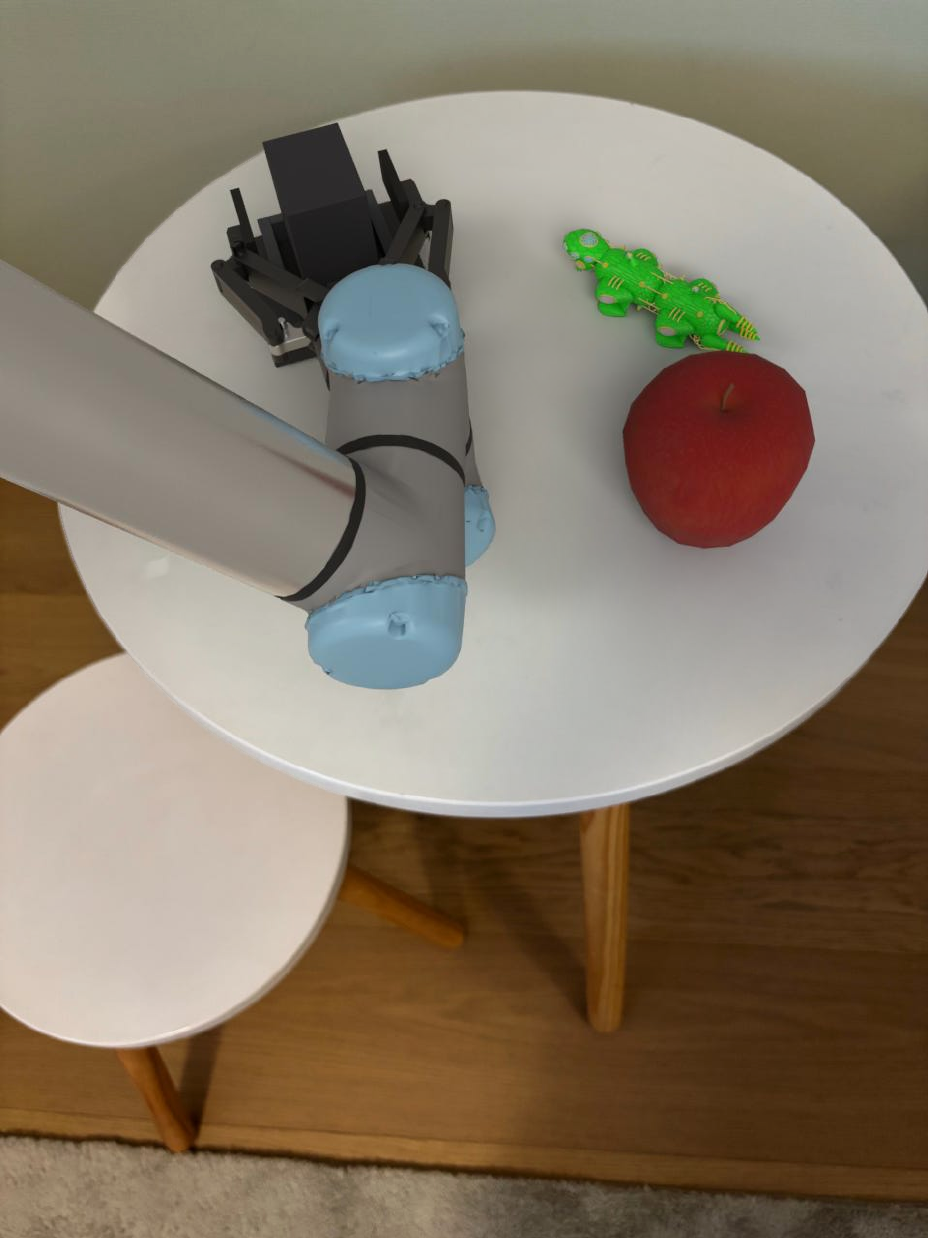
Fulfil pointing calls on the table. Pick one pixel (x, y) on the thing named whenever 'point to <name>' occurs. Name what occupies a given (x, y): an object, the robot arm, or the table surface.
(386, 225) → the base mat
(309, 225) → the pad block
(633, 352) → the table surface
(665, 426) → the apple
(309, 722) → the table surface
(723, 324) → the crocodile figurine
